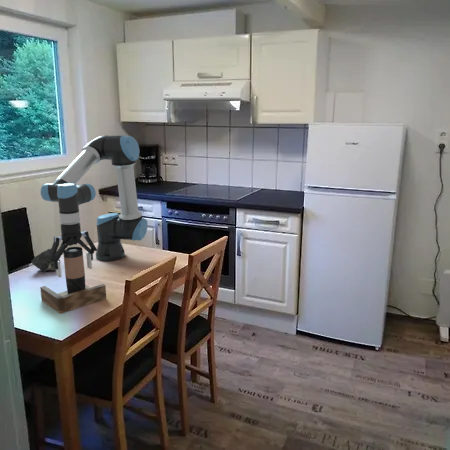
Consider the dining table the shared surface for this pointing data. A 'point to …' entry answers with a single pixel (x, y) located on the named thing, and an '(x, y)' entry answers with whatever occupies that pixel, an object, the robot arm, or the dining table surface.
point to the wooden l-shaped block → (72, 298)
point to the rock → (43, 261)
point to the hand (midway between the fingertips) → (74, 272)
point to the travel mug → (74, 269)
